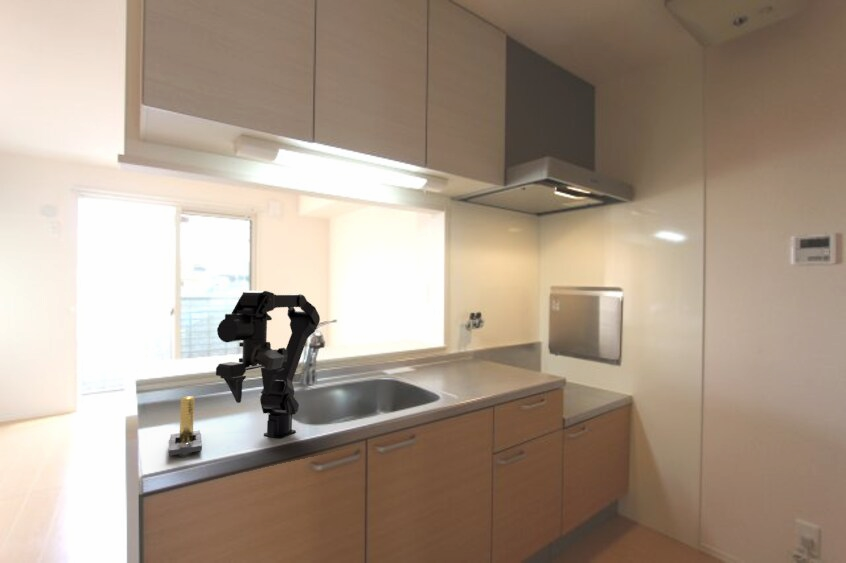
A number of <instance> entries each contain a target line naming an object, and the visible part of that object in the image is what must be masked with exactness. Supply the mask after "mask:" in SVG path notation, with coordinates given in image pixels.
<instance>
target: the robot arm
mask: <svg viewBox="0 0 846 563" xmlns="http://www.w3.org/2000/svg"><path fill="white" fill-rule="evenodd" d="M279 308H280V309H281V308H287V316H288V318H289V320H290V323H289V327H290V331H291V334H290V337H289V338H288V339H289V340H288V342H287V344H286V348H285V347H280V348H278V349H272V348H271V347H272V346H271V345H272V344H271V342H270V341H267V335H268V334H267V332H268V331H267V330H268V329H267V328H268V321H272V318H273V317H272V316H271V315H270V314H268V313H270V312H272V311H274V310H275V309H279ZM295 308H299V309H295ZM320 321H321V318H320V314H319V312H318V311H317V308H316V306H314V305H313V304H312V303H310V302H309V301H308V300H307V298H306V296H305V295H304V294H301V293H290V294H275V293H274V292H272V291H268V290H245V291H242V294H241V296H240V297H239V299H238V301H237V303H236V305H235V306H234V308H233V309H232V311H231V313H225V314H224V319H222V320H221V321H220V322H219V324H218V327H217V328H216V329H217V330H216V331H217V333H216V334H217V336H218V338H219V339H220V341H222V342H224V343H233V342H239V344H238V346H239V347H242V357H241V358H238V362H236V361H230V362H229V361H228V362H224V363H219V364H218V365H217V366H216V367H215V376H217V377H218V376H219V377H220V379H224V381H225V383H226V385H227V386H228V388H229V390H230V392H231V394H232V396H233V398H234V400H235V402H236V403H237V404H239V403H240V404H241V402H242V397H243V396H242V395H243V382H244V381H245V379H246V378H247V375H244V374H245V373H246V372H247V371H249V370H250V371H251V370H255V369H260V371H261V372H260V373H261V380H262V386H263V387H262V390H261V392H260V393H261V395H260V398H259V399H260V400H259V401H260V405H261V409H262V414H267V415H268V416H267V417H268V419H267V422H266V428H267V430H266V432H264V433H263V437H264V436H265V437H267V438H268V437H269V438H272V439H279V440H281V439H283V438H286V437H288V436H290V435H293V434H295V433H297V430H295V429H293V415H296V414H297V413H298V411H299V406H300V404H299V403H298V401H297V400H296V398H295V397H294V395H295V388H294V385H293V380H294V377H295V373H296V372H297V369H298V367H299V366H298V365H299V363H300V360H301V358H302V354H303V351H304V348H305V345H306V343H307V340H308V338H309V337H310V336H311V335H313V334H314V333H315V332H316V331H317V328H318V326H319V324H320ZM240 341H241V342H240Z"/></svg>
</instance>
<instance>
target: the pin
mask: <svg viewBox="0 0 846 563" xmlns="http://www.w3.org/2000/svg"><path fill="white" fill-rule="evenodd" d="M194 412H195V396H183V397H181V398H180V418H179V433H180V438H179V443H181V442H185V441H193V431H194V421H195V420H194V418H195V413H194Z"/></svg>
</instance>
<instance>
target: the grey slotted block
mask: <svg viewBox="0 0 846 563" xmlns="http://www.w3.org/2000/svg"><path fill="white" fill-rule="evenodd" d="M179 438H180V432H178V433H172V434H170V436H169V444H168V456H176V455H178V456H179V458H187V457H191V455H192V453H194V452H201V451H202V450H203V443H202V433H201V431H200V430H193V441H185V442H181V443H179Z"/></svg>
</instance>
